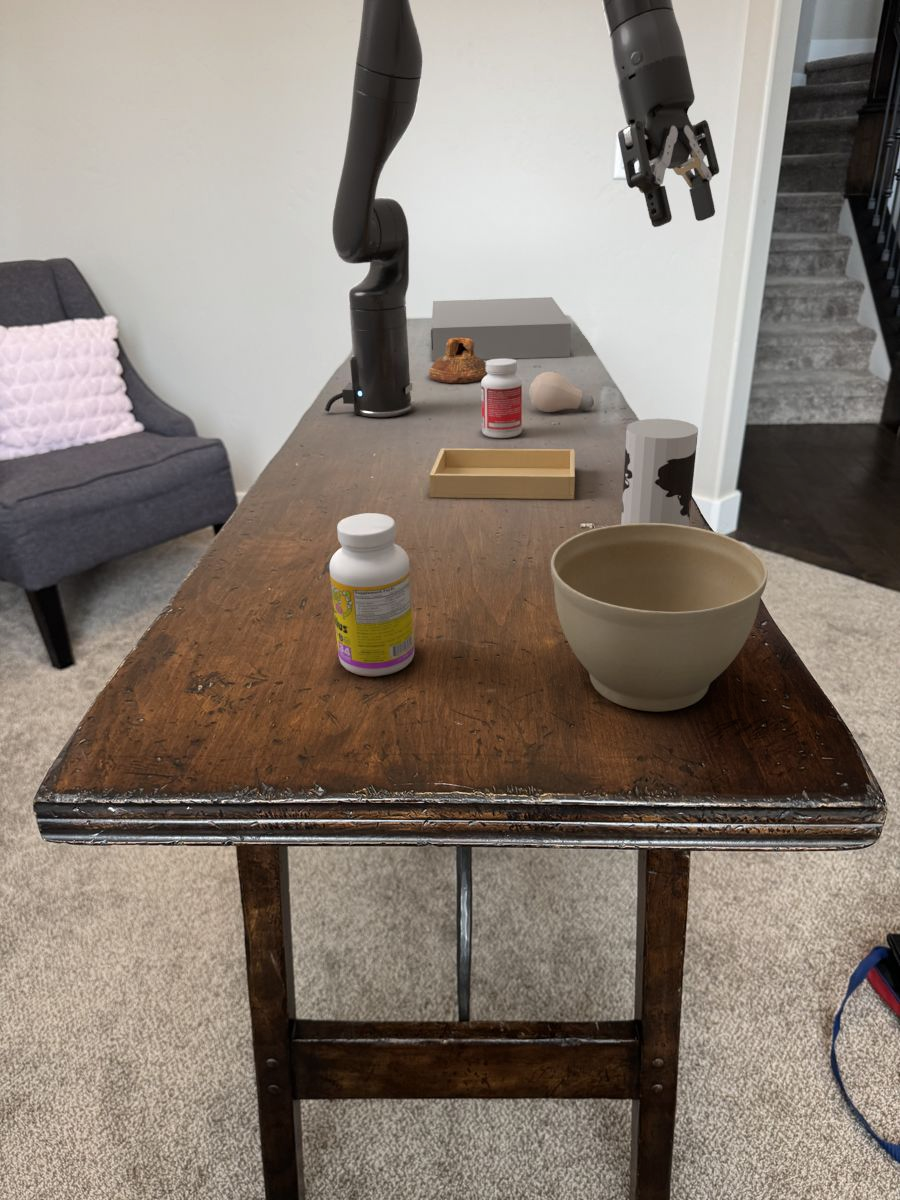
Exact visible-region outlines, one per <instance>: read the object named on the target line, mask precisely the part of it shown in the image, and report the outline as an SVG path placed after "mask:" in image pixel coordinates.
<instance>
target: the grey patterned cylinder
mask: <svg viewBox="0 0 900 1200" xmlns="http://www.w3.org/2000/svg"><path fill="white" fill-rule="evenodd" d="M625 433H626V434H625V451H624V465H623V467H624V468H623V481H622V483H623V484H622V485H623V486H622V499H621V501H622V502H621V504H622V505H621V516H620V517H621V518H620V525H622V524H631V523H665V524H676V525H683V526H689V527H690V519H691V508H692V496H693V486H694V477H695V466H696V457H697V456H696V455H697V446H698V435H699V427H697V426H696V425H695V424H694V423H690V422H688V421H683V420H679V419H671V418H647V419H646V418H645V419H639V420H635V421H632V422H630V423H628V424H627V425H626V432H625Z"/></svg>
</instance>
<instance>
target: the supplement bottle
mask: <svg viewBox="0 0 900 1200" xmlns="http://www.w3.org/2000/svg"><path fill="white" fill-rule="evenodd" d="M336 526H337V527H336V529H337V531H336V532H337V540H338V542H339V543H340V546H341V547H340V548H338V550H337V551H335V552H334V554H333V555H332V557H331V558H330V561H329V566H328V567H329V569H328V570H329V580H330V587H331V597H332V607H333V608H332V609H333V618H334V628H335V637H336V645H337V654H338V659H339V662H340V664H341V666H343V668H344V669H345V670H347V671H348V672H350V673H352V674H355V675H358V676H363V677H381V676H388V675H391V674H395V673H397V672H399V671H401V670H404V669H405V668H406V667H407V666H408V665H409V664H411V662H412V661H413V659H414V656H415V633H414V632H415V631H414V619H413V604H412V603H413V602H412V586H411V584H412V583H411V570H410V569H411V568H410V559H409V556H408V553H407V552H406V550H405V549H404V548H403V547H401V546H400V545H398V544H396V543H395V540H396V536H397V531H396V522H395V520H394V518H392V517H391V516H389V515H387V514H383V513H377V512H376V513H374V512H366V513H365V512H364V513H358V514H353V515H350V516H347V517H344V518H343V519H341V520H340V521H339V522H338V523H337V525H336Z"/></svg>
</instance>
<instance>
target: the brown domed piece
mask: <svg viewBox="0 0 900 1200" xmlns="http://www.w3.org/2000/svg"><path fill="white" fill-rule="evenodd" d="M446 349H447V350H446V355H445V356H442V357H440V358H439V359H437V360H436V361H433V363H432V365H431V366H430V368H429V372H428V376H429V378H430V380H433V381H435V382H438V383H445V384H468V383H469V384H470V383H475V382H479V381H482V379H483V378H484V377H485V376H486V375H487V372H486V361H484V360H481V359H480V358H478V357H476V356H475V354H474V342H473V341H472V340H471V339H468V338H451V339H449V341H448V342H447V344H446Z"/></svg>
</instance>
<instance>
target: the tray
mask: <svg viewBox="0 0 900 1200" xmlns="http://www.w3.org/2000/svg"><path fill="white" fill-rule="evenodd" d="M575 455H576V450H575V449H573V448H443V447H442V448H440V450H439V452H438V455H437V457H436V459H435V461H434V464H433V466H432V468H431V470H430V473H429V496H430V497H429V498H441V499H443V498H447V499H448V498H449V499H517V500H519V499H521V500H524V499H525V500H530V499H531V500H575V487H576V486H575V485H576V484H575V483H576V458H575V457H576V456H575Z"/></svg>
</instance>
